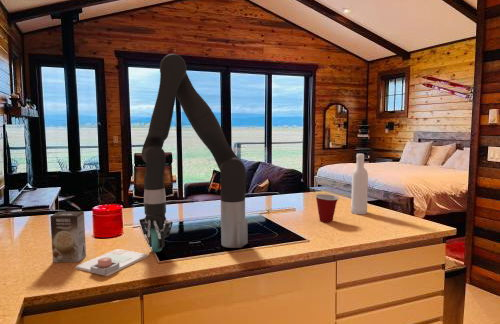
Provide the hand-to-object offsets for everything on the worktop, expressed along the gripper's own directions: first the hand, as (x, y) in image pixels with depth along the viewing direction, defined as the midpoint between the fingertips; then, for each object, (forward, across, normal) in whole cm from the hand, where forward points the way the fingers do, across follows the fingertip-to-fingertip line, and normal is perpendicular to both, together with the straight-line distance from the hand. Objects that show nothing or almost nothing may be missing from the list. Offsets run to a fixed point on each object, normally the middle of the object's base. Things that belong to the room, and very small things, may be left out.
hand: (156, 247), depth 134 cm
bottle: (+2, -57, -87) cm, 104 cm away
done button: (-1, +2, +22) cm, 22 cm away
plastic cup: (+2, -46, -65) cm, 80 cm away
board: (+1, +6, +15) cm, 16 cm away
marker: (+1, 0, 0) cm, 1 cm away
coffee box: (+2, +22, +19) cm, 29 cm away
